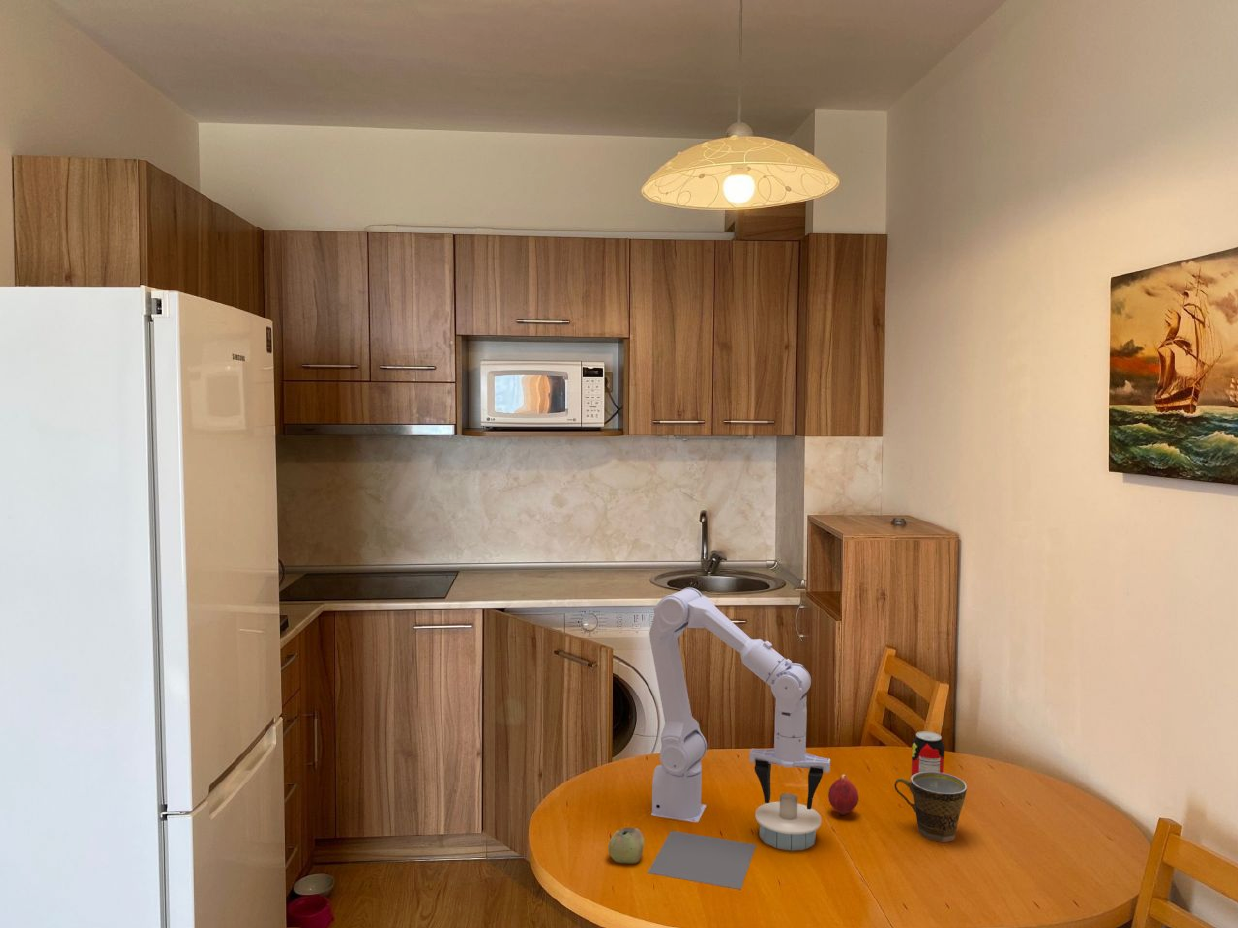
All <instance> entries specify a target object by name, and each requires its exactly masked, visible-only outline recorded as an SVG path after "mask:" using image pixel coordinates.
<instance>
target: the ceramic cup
mask: <svg viewBox="0 0 1238 928" xmlns="http://www.w3.org/2000/svg"><path fill="white" fill-rule="evenodd" d="M898 783H903V784H904V785H905V786H907V787H908V788H909V789H910V793H911V794H912V797H913V803H912V802H910V801H909V799H908V798H907V797H906V795H905V794H903V793H902V792H901V791H900V790H899V789H898V787H897V785H898ZM893 787H894V790H895V791H896V792H897V793H898V795H900V796H901V797H902V799H904V800H905V802H906V803H907V804H908V805H909V807H911V808H912V810H913V812H914V813H915V818H916V824H917V825H916V826H917V832H918V834H919V835H921V836H923V837H924V839H927V840H930V841H935V842H940V843H945V842H951V841H954V840H955V838H956V833H957V828H958V823H959V820H960V819H959V818H960V816H961V811H962V810H963V806H964V804H965V800H966V795H967V790H968V785H967V784H966V782H965V781H964V780H962V779H961V778H958V777H957V776H954V775H951V774H948V773H945V772H943V773H938V772H921V773H917V774H914V775H913V776H912V777H910V781H909V780H907V779H906V778H897V780H895V782H894V786H893Z"/></svg>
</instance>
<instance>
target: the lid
mask: <svg viewBox="0 0 1238 928" xmlns="http://www.w3.org/2000/svg"><path fill="white" fill-rule="evenodd" d="M754 814H755V815H754V817H755V820H756V822H757V823H758V824H759V826H760V825H762V826H763V827H765V828H767V829H769V830H772V831H775V832H779V833H784V834H806V833H810V832H813V831H815V830H816V831H817V830H818V829H819V828H820V827H821V825H822V816H821V815H820V813H819V812H818V811H817V810H815V809H814V808H812V807H811V809H807V805H805V804H802V803H798V796H797V795H796V794H794V793H791V792H785V793H782V794H780V795H779V801H772V802H769V803H764V804H761V805H760V806H759V807H758V808H756V810H755V813H754Z"/></svg>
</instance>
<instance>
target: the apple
mask: <svg viewBox="0 0 1238 928" xmlns="http://www.w3.org/2000/svg"><path fill="white" fill-rule="evenodd" d="M644 849H645V837H644V835H643V833H642V831H641V830H640V829H639V828H637V827H624V828H621V829H618V830H616V832H614V834H613V835H612V836H611V838H610V840H609V842H608V854H609V856H610V857H611V858H612V860H613V861H614V862H615V863H617V864H627V865H628V864H630V865H631V864H632V865H634V864H638V863H639V862H640V861H641V859H642V856H643V852H644Z"/></svg>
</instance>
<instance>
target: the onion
mask: <svg viewBox="0 0 1238 928" xmlns="http://www.w3.org/2000/svg"><path fill="white" fill-rule="evenodd" d="M840 776H841V777H840V778H839V779H836V780H835V781H834V782H832V784H831V785H830V787H829V788H828V792H827V793H828V794H827V797H828V798H827V799H828V802H829V805H830V806H831V808H832V809H834V811H835V812H837V813H838V814H840V815H842V816H844V815H846V814H848V813H850V812H852V811H854V809H855V808H856V807H857V805H858V803H859V793H858V789H857V788H856V786H855V785H854V783H852V782H851V780H849V779H848V776H847V774H842V775H840Z"/></svg>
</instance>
